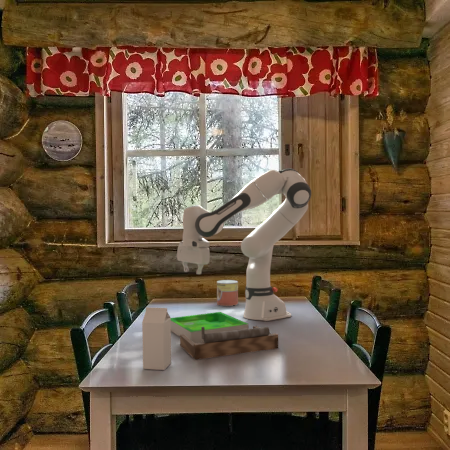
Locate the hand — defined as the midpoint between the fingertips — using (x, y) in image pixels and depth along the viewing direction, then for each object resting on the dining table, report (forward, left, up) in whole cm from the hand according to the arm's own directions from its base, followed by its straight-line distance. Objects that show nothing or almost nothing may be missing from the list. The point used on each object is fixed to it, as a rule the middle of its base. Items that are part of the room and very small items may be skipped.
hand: (192, 272), depth 206 cm
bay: (0, +41, -22) cm, 47 cm away
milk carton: (+29, +51, -22) cm, 63 cm away
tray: (0, +18, -23) cm, 29 cm away
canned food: (-29, -30, -22) cm, 47 cm away
